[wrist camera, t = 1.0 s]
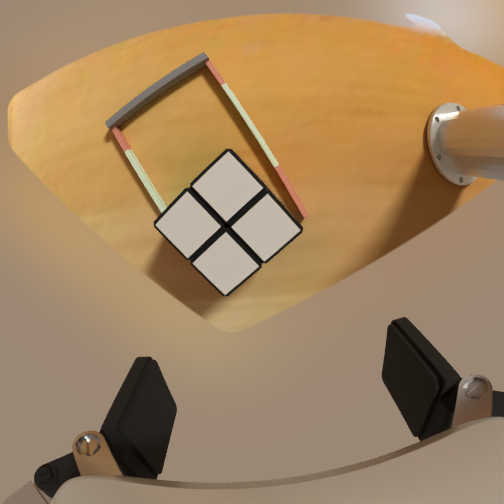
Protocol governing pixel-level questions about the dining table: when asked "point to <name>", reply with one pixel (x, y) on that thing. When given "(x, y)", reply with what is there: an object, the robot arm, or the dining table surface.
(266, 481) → the robot arm
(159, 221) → the puzzle cube
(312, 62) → the dining table surface
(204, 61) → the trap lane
